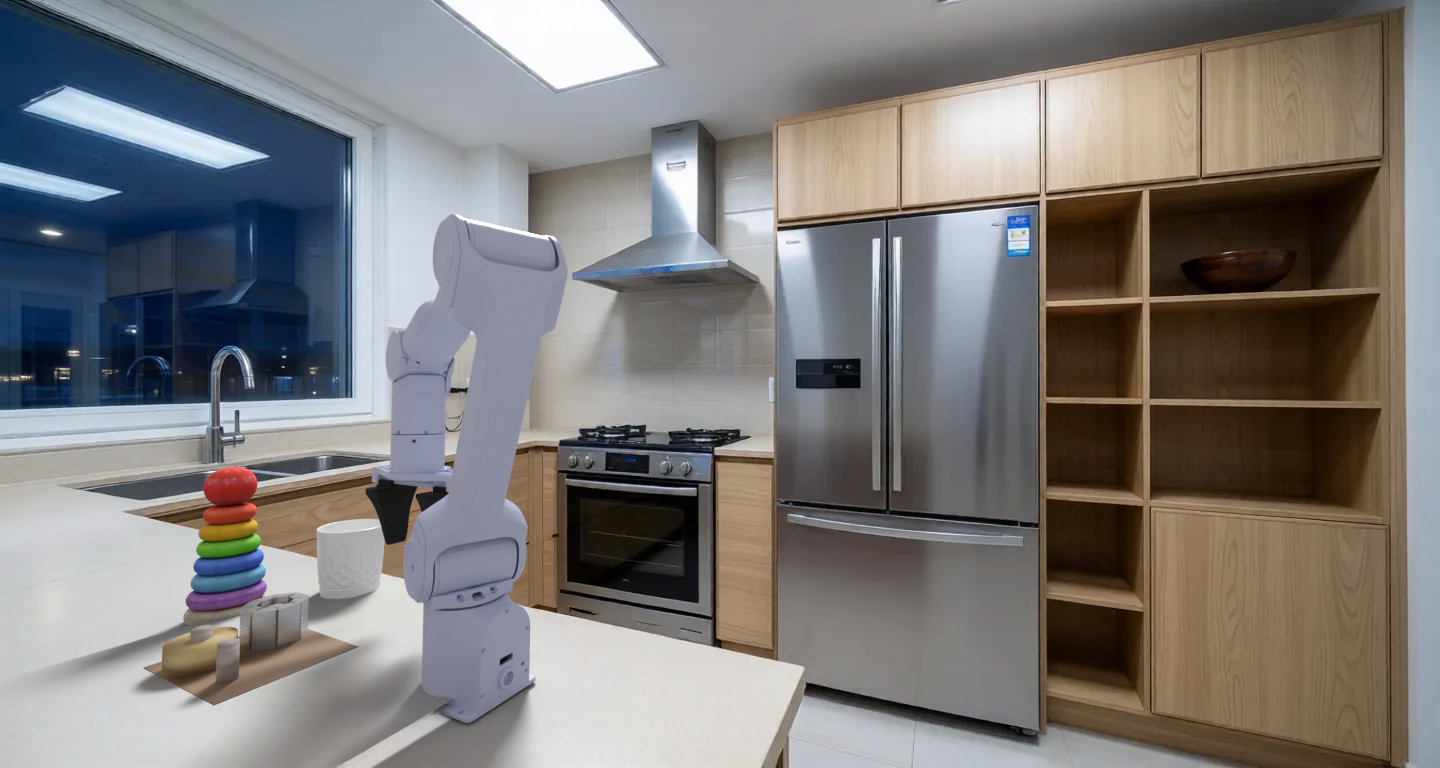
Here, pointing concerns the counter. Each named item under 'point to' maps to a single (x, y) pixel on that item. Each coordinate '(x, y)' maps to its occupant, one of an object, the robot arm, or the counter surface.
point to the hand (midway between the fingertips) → (416, 546)
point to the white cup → (349, 558)
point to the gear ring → (273, 621)
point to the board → (263, 666)
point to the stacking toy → (227, 550)
